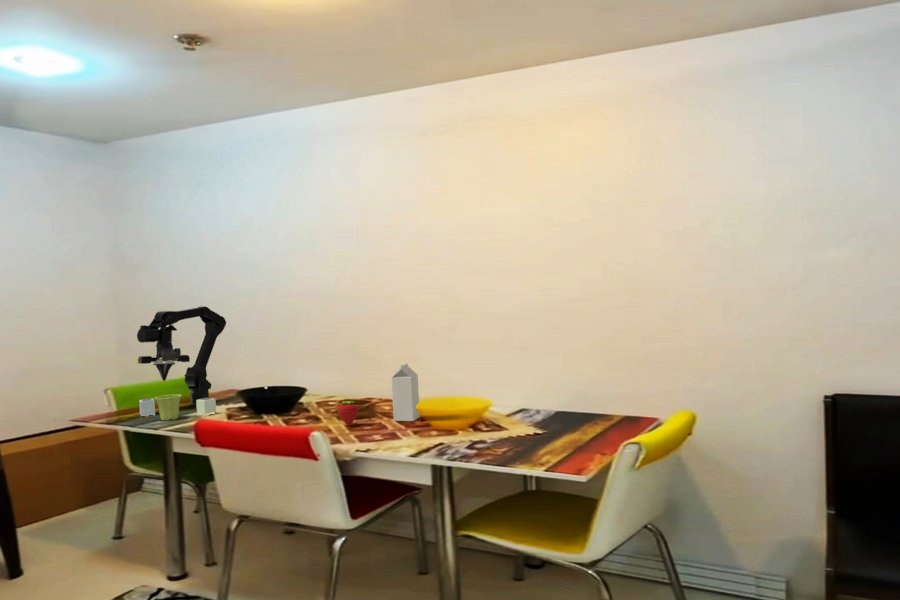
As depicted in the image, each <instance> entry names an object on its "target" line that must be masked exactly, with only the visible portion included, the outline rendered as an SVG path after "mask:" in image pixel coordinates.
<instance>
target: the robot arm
mask: <svg viewBox="0 0 900 600" xmlns="http://www.w3.org/2000/svg"><path fill="white" fill-rule="evenodd" d="M197 317H198V318H200V320H201V322H202V323H204V331H205V334H204V337H203V341H202V343H201V345H200V349H199V351H198V353H197V356H196V359H195V362H194V364H193V365H192V366H191V367H190V366H188V367H187V369H186V372H185V374H184V375H183V377H184V382H185V384H186V386H187V388H188V390H191V391H190V392H191V393H190V394H189V397H190V398H189V399H190V405H193V406H197V405H196V400H199V399H203V398H210V397H209V396H210V395H209V390H211V388H212V383H211V382H210V381H209V380H208V379H207V376H208V372H207V366H208V363H209V360H210V358H211V354H212V352H213V350H214V347H215V344H216V340H217V338H218V337H219V336H220V335H221V334H222V333H223V331H224V330H225V327H226V326H227V321H226V318H225V317H224V316H222V315H220V314H219V313H217V312H215V311H214V310H211V308H209V307H207V306H198V307H193V308H188V309H182V310H177V311H176V310H174V311H173V310H165V311H163V310H162V311H157V312H155V315H154V318H153V319H152V320H151V322H150V323H149V325H143V324H141V325H140V328H139V329H138V331H137V334H136V337H137V341H138V342H139V343H141V344H142V343H143V344H144V343H155V342H156V345H155V348H156V355H155V357H154V356H153V357H152V356H151V355H142V356H141V355H140V356H138V358H137V364H142V365H143V364H145V365H146V364H151V363H152V365H154V366H155V367H156V369H157V371H158V372H159V375H160V377H161V380H162V381H166V380H167V378H168V374H169V371H170V370H171V368H172V366H174V365H175V364H176V362H178V363H179V362H181V363H190V360H191V359H190V355H188V354H181V353H182V352H181V348H180V347H177V348H176V347H175V348H173V346H174V345H173V332H175V331H177V330H178V329H177V328H176V327H175V326H174V324H176V323H178V322H180V321H182V320H187V319H192V318H193V319H194V318H197Z"/></svg>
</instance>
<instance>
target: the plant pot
mask: <svg viewBox="0 0 900 600" xmlns="http://www.w3.org/2000/svg"><path fill="white" fill-rule="evenodd" d="M181 397H182V394H174V393H173V394H165V395H160V396H156V397H154V400H156V404H157V409H158V411H159V417H160V421H169V420H172V421H173V420H176V419H178V418H179V415H180V413H179V412H180V401H181Z"/></svg>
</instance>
